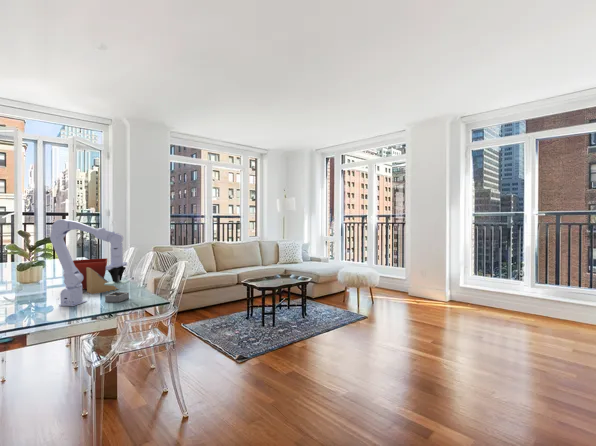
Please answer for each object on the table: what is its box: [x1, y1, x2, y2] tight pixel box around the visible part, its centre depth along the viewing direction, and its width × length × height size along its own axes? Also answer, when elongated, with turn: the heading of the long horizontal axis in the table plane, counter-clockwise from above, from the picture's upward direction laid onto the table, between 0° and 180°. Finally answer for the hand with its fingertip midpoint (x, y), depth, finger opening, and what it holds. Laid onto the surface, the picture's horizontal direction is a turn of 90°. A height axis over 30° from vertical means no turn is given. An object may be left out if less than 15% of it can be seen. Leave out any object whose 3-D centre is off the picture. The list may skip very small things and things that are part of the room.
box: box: [104, 291, 130, 304], centre depth 178 cm, size 8×8×4 cm
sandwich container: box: [86, 267, 119, 295], centre depth 200 cm, size 9×15×15 cm, turn 139°
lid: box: [104, 275, 131, 287], centre depth 178 cm, size 9×9×5 cm
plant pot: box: [72, 258, 108, 290], centre depth 209 cm, size 19×19×17 cm
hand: (117, 281), depth 178 cm, fingers closed on lid, 3 cm apart
